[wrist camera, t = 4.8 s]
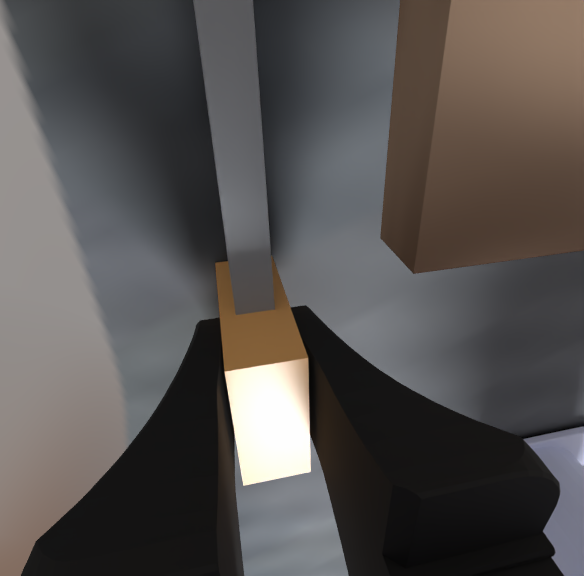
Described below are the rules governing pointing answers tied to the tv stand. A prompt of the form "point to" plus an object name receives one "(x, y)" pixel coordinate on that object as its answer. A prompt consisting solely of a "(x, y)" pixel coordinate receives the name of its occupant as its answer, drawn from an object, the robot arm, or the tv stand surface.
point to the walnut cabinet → (485, 133)
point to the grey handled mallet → (251, 259)
